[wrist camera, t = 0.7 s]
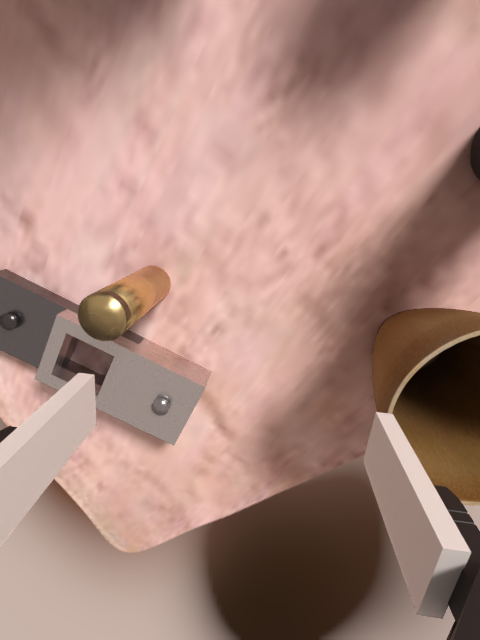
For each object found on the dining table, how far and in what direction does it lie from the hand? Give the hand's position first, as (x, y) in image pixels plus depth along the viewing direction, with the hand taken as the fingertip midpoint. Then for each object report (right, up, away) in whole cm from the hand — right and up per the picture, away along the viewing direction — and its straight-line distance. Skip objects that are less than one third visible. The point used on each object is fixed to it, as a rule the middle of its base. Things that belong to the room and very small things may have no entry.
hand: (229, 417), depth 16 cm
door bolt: (-17, +1, +27) cm, 32 cm away
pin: (-9, +9, +24) cm, 27 cm away
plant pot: (+20, +2, +24) cm, 31 cm away
